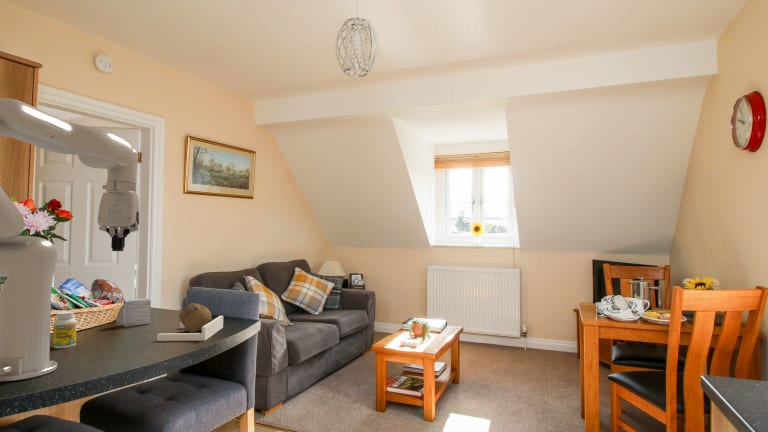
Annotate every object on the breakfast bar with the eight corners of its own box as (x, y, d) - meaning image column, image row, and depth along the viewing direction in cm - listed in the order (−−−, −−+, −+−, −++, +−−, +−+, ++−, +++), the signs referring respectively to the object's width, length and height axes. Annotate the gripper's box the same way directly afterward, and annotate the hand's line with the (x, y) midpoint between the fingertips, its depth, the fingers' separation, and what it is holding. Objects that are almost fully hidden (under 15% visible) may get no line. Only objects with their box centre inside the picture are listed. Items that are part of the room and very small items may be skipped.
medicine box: (147, 322, 160) (148, 298, 161) (150, 324, 157) (151, 299, 157) (122, 325, 155) (123, 300, 156) (125, 327, 152) (125, 301, 152)
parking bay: (205, 340, 134) (205, 327, 134) (157, 341, 133) (157, 327, 133) (223, 327, 152) (223, 315, 152) (181, 327, 151) (181, 315, 151)
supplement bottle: (76, 343, 130) (77, 310, 131) (75, 347, 126) (76, 313, 126) (53, 345, 128) (54, 311, 128) (52, 349, 123) (53, 314, 123)
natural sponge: (175, 337, 144) (208, 339, 147) (177, 321, 138) (211, 323, 142) (180, 313, 150) (211, 316, 154) (182, 297, 145) (214, 300, 148)
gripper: (87, 186, 128) (83, 250, 127) (141, 188, 129) (137, 251, 128) (102, 190, 136) (98, 250, 134) (153, 191, 136) (149, 251, 135)
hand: (117, 250), depth 131 cm, fingers closed
